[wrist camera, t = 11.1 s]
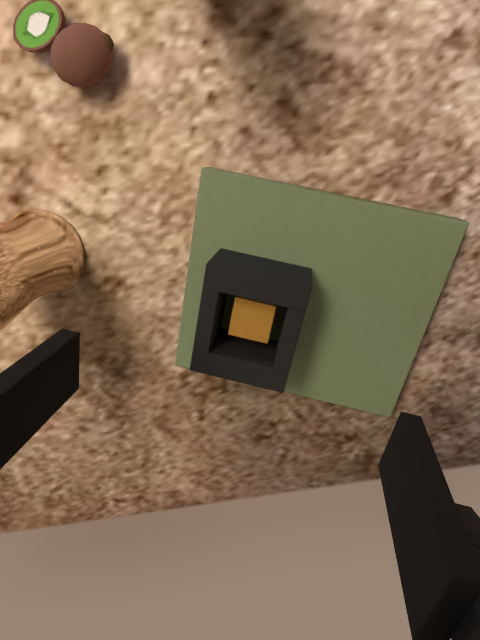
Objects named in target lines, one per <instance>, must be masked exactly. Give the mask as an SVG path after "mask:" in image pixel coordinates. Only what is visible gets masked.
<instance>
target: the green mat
mask: <svg viewBox="0 0 480 640" xmlns="http://www.w3.org/2000/svg"><path fill="white" fill-rule="evenodd" d="M468 225H469V223H468V222H466V221H464V220H461V219H458V218H453V217H449V216H444V215H439V214H434V213H429V212H424V211H420V210H415V209H410V208H405V207H400V206H395V205H390V204H386V203H381V202H376V201H371V200H366V199H361V198H356V197H352V196H347V195H342V194H337V193H332V192H327V191H323V190H318V189H313V188H308V187H303V186H298V185H293V184H289V183H284V182H279V181H274V180H269V179H264V178H259V177H255V176H250V175H245V174H240V173H235V172H230V171H226V170H221V169H216V168H211V167H205V168H202V170H201V177H200V185H199V192H198V200H197V207H196V214H195V222H194V229H193V237H192V244H191V251H190V259H189V266H188V273H187V281H186V288H185V296H184V303H183V310H182V318H181V325H180V332H179V340H178V347H177V355H176V362H175V365H176V366H180V367H184V368H189V369H190V364H191V357H192V351H193V345H194V338H195V332H196V326H197V319H198V313H199V306H200V300H201V294H202V289H203V281H204V274H205V268H206V263H207V262H208V261H209V260H210V259H211V258H212V257H213V256H214V255H215V254H216V252H217V251H218V250H219V249H220V248H223V249H227V250H232V251H236V252H241V253H245V254H250V255H254V256H259V257H263V258H268V259H272V260H277V261H281V262H285V263H290V264H294V265H299V266H303V267H308V268H311V269H312V290H311V293H310V297H309V301H308V304H307V308H306V311H305V315H304V319H303V323H302V326H301V330H300V334H299V337H298V341H297V345H296V349H295V352H294V356H293V360H292V363H291V367H290V371H289V374H288V378H287V382H286V385H285V389H284V392H287V393H291V394H295V395H299V396H304V397H308V398H312V399H316V400H320V401H324V402H328V403H332V404H336V405H341V406H345V407H349V408H353V409H357V410H361V411H365V412H369V413H373V414H377V415H382V416H386V417H391V414H392V412H393V410H394V407H395V405H396V402H397V400H398V397H399V395H400V392H401V390H402V387H403V385H404V382H405V380H406V378H407V375H408V373H409V370H410V368H411V365H412V363H413V360H414V358H415V355H416V353H417V350H418V348H419V345H420V343H421V341H422V338H423V336H424V333H425V331H426V328H427V326H428V323H429V321H430V318H431V316H432V313H433V311H434V309H435V306H436V304H437V301H438V299H439V296H440V294H441V291H442V289H443V286H444V284H445V281H446V279H447V276H448V274H449V272H450V269H451V267H452V264H453V262H454V259H455V257H456V254H457V252H458V249H459V247H460V244H461V242H462V240H463V237H464V235H465V232H466V230H467V227H468ZM285 309H286V307H282V306H278V305H274V304H269V303H265V302H261V301H256V300H252V299H248V298H243V297H239V296H235V295H230V294H227V299H226V304H225V310H224V315H223V320H222V326H221V328H225V329H229V331H228V335H232V336H237V337H241V338H245V339H249V340H254V341H258V342H262V343H266V344H268V341H269V339H271V340H276V341H278V337H279V333H280V329H281V325H282V321H283V317H284V313H285Z"/></svg>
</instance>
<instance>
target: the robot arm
mask: <svg viewBox="0 0 480 640" xmlns="http://www.w3.org/2000/svg"><path fill="white" fill-rule="evenodd" d="M79 347H80V333H79V332H75V331H71V330H67V329H63V328H62V329H61V330H59V331H58V332H57V333H55V334H54V335H52V336H51V337H50V338H48V339H47V340H46V341H44V342H43V343H42V344H40V345H39V346H37V347H36V348H35V349H33V350H32V351H31V352H29V353H28V354H26V355H25V356H24V357H22V358H21V359H20V360H18V361H17V362H15V363H14V364H13V365H11V366H10V367H9V368H7V369H6V370H4V371H3V372H2V373H0V469H1V468H2V467H3V466H4V465H5V464H6V463H7V462H8V461H9V460H10V459H11V458H12V457H13V456H14V455H15V454H16V453H17V452H18V451H19V449H20V448H21V447H22V446H23V445H24V444H25V443H26V442H27V441H28V440H29V439H30V438H31V437H32V436H33V435H34V434H35V433H36V432H37V431H38V430H39V429H40V428H41V427H42V426H43V425H44V424H45V423H46V422H47V421H48V420H49V419H50V417H51V416H52V415H53V414H54V413H55V412H56V411H57V410H58V409H59V408H60V407H61V406H62V405H63V404H64V403H65V402H66V401H67V400H68V399H69V398H70V397H71V396H72V395H73V394H74V393H75V392H76V391H77V390H78V389H79ZM378 466H379V471H380V476H381V481H382V486H383V492H384V497H385V501H386V507H387V512H388V517H389V522H390V527H391V533H392V538H393V543H394V548H395V553H396V558H397V563H398V568H399V573H400V578H401V584H402V589H403V594H404V599H405V604H406V609H407V614H408V620H409V625H410V629H411V635H412V640H450V638H451V639H452V640H480V518H479V516H478V515H477V514H476V513H475V512H474V510H473V509H472V508H471V507H468V506H464V505H460V504H456V503H454V501H453V498H452V495H451V493H450V490H449V488H448V485H447V482H446V480H445V477H444V475H443V472H442V469H441V467H440V464H439V462H438V459H437V456H436V454H435V451H434V449H433V446H432V444H431V441H430V438H429V436H428V433H427V431H426V428H425V425H424V423H423V420H422V418H421V416H417V415H413V414H409V413H405V412H401V413H400V415H399V417H398V420H397V422H396V425H395V427H394V429H393V432H392V434H391V436H390V439H389V441H388V444H387V446H386V448H385V451H384V453H383V455H382V458H381V460H380V463H379V465H378Z"/></svg>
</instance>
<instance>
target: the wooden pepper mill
mask: <svg viewBox="0 0 480 640" xmlns="http://www.w3.org/2000/svg"><path fill="white" fill-rule="evenodd" d="M83 267H84V251H83V246H82V243H81V241H80V239H79V237H78V235H77V233H76V232H75V230H74V229H73V228H72V226H71V225H70V224H69V223H68V222H67V221H65V220H64V219H63V218H62V217H60V216H59V215H57V214H55V213H53V212H50V211H47V210H43V209H29V210H25V211H22V212H20V213H18V214H16V215H14V216H12V217H11V218H9V219H7V220H5V221H3V222H0V331H2V330H3V329H4V328H5V327H6V326H7V325H8V324H9V323H10V322H11V321H12V320H13V319H15V318H16V317H17V316H18V315H19V314H20V313H21V312H22V311H23V310H24V309H25V308H26V307H27V306H28V305H29V304H31V303H32V302H33V301H34V300H36V299H37V298H39V297H41V296H44V295H47V294H51V293H56V292H59V291H63V290H65V289H67V288H69V287H71V286H72V285H73V284H74V283H75V282H76V281H77V280H78V279H79V277H80V275H81V273H82V271H83Z"/></svg>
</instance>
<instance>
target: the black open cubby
mask: <svg viewBox="0 0 480 640" xmlns="http://www.w3.org/2000/svg"><path fill="white" fill-rule="evenodd" d="M311 290H312V269H311V268H308V267H303V266H299V265H294V264H290V263H285V262H281V261H277V260H272V259H268V258H263V257H259V256H254V255H250V254H245V253H241V252H236V251H232V250H227V249H223V248H220V249H219V250H218V251H217V252H216V254H215V255H214V256H213V257H212V258H211V259H210V260H209V261H208V262H207V263H206V268H205V274H204V281H203V289H202V294H201V300H200V306H199V313H198V319H197V326H196V332H195V338H194V345H193V351H192V357H191V364H190V370H192V371H196V372H200V373H204V374H208V375H212V376H216V377H221V378H225V379H229V380H233V381H237V382H241V383H245V384H249V385H253V386H257V387H261V388H265V389H269V390H273V391H277V392H281V393H283V392H284V389H285V385H286V382H287V378H288V374H289V371H290V367H291V363H292V360H293V356H294V352H295V349H296V345H297V341H298V337H299V334H300V330H301V326H302V323H303V319H304V315H305V311H306V308H307V304H308V301H309V297H310V293H311ZM227 294H230V295H235V296H239V297H243V298H248V299H252V300H256V301H261V302H265V303H269V304H274V305H278V306H282V307H286V309H285V313H284V317H283V321H282V325H281V329H280V333H279V337H278V341H276V340H271V339H269V341H268V344H266V343H262V342H258V341H254V340H249V339H245V338H241V337H237V336H232V335H228V331H229V329H225V328H221V326H222V320H223V315H224V310H225V304H226V299H227Z"/></svg>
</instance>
